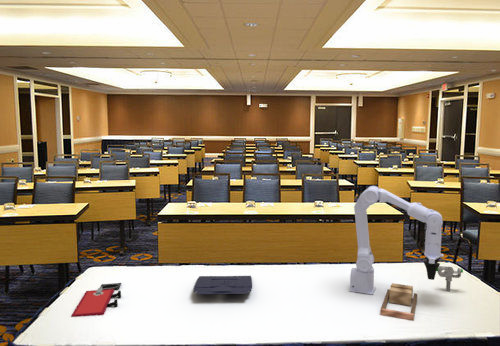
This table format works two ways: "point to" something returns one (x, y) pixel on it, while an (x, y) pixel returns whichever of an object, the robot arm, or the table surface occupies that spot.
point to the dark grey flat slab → (223, 285)
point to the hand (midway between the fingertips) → (431, 276)
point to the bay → (398, 313)
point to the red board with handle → (97, 300)
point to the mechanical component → (449, 274)
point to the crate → (401, 294)
